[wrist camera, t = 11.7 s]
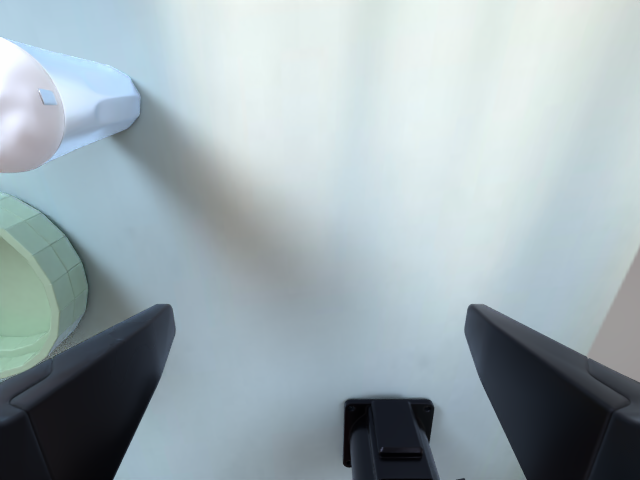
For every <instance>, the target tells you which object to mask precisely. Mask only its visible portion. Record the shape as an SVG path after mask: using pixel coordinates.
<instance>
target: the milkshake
mask: <svg viewBox="0 0 640 480" xmlns="http://www.w3.org/2000/svg"><path fill="white" fill-rule="evenodd" d="M139 115H140V94H139V92H138V90H137V89H136V87H135V85H134V83H133V82H132V80H131V78H130V77H129V76H128V75H126V74H124V73H122V72H120V71H119V70H117V69H115V68H113V67H112V66H109V65H106V64H102V63H98V62H93V61H89V60H85V59H81V58H77V57H73V56H69V55H65V54H61V53H57V52H52V51H48V50H44V49H41V48H37V47H34V46H30V45H27V44H23V43H20V42H17V41H13V40H10V39H6V38H3V37H0V173H17V172H25V171H30V170H33V169H36V168H38V167H40V166H41V165H43V164H45V163H47V162H50V161H52V160H54V159H56V158H58V157H60V156H62V155H65V154H67V153H69V152H71V151H73V150H76V149H78V148H80V147H83V146H85V145H88V144H90V143H93V142H95V141H98V140H100V139H103V138H105V137H108V136H110V135H113V134H115V133H118V132H120V131H123V130H125V129H127V128H129V127H130V126H131V124H132V123H133V122H134V121H135V120H136V119H137V118H138V116H139Z"/></svg>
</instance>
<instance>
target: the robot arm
mask: <svg viewBox="0 0 640 480" xmlns="http://www.w3.org/2000/svg"><path fill="white" fill-rule="evenodd" d="M175 331H176V328H175V321H174V315H173V309H172V307H171V305H169V304H156V305H154V306H152V307H150V308H148V309H146V310H144V311H142V312H140V313H138V314H136V315H134V316H132V317H130V318H128V319H127V320H125V321H123V322H121V323H119V324H117V325H115V326H113V327H111V328H109V329H107V330H105V331H103V332H101V333H99V334H97V335H95V336H93V337H91V338H89V339H87V340H85V341H83V342H81V343H79V344H77V345H76V346H74V347H72V348H70V349H68V350H66V351H64V352H62V353H60V354H58V355H56V356H54V357H53V358H52V359H51V358H50V359H48V360H46V361H44V362H42V363H40V364H38V365H36V366H34V367H32V368H30V369H28V370H26V371H24V372H22V373H20V374H18V375H16V376H14V377H11V378H9V379H7V380H5V381H3V382H1V383H0V480H113V479H114V477H115V475H116V472H117V470H118V468H119V466H120V464H121V462H122V460H123V458H124V455H125V453H126V451H127V449H128V447H129V445H130V443H131V440H132V438H133V436H134V434H135V432H136V430H137V428H138V425H139V423H140V421H141V419H142V417H143V415H144V413H145V411H146V408H147V406H148V404H149V402H150V400H151V398H152V396H153V393H154V391H155V389H156V387H157V385H158V383H159V380H160V378H161V375H162V372H163V370H164V367H165V364H166V360H167V357H168V354H169V351H170V348H171V345H172V342H173V339H174V336H175ZM464 331H465V336H466V339H467V342H468V345H469V348H470V351H471V354H472V357H473V360H474V364H475V367H476V370H477V372H478V375H479V378H480V380H481V383H482V385H483V387H484V389H485V391H486V393H487V396H488V398H489V400H490V402H491V404H492V406H493V408H494V411H495V413H496V415H497V417H498V419H499V421H500V423H501V425H502V428H503V430H504V432H505V434H506V436H507V438H508V440H509V443H510V445H511V447H512V449H513V451H514V453H515V455H516V458H517V460H518V462H519V464H520V466H521V468H522V470H523V472H524V475H525V477H526V479H527V480H640V383H639V382H637V381H635V380H633V379H631V378H629V377H626V376H624V375H622V374H620V373H618V372H616V371H614V370H612V369H610V368H608V367H606V366H604V365H602V364H600V363H598V362H596V361H594V360H592V359H590V358H589V359H588V358H587V357H586V356H584V355H582V354H580V353H578V352H576V351H574V350H572V349H570V348H568V347H566V346H564V345H563V344H561V343H559V342H557V341H555V340H553V339H551V338H549V337H547V336H545V335H543V334H541V333H539V332H537V331H535V330H533V329H531V328H529V327H527V326H525V325H523V324H521V323H519V322H517V321H515V320H513V319H512V318H510V317H508V316H506V315H504V314H502V313H500V312H498V311H496V310H494V309H492V308H490V307H488V306H486V305H484V304H471V305H469V307H468V309H467V315H466V321H465V328H464ZM350 406H353V407H350ZM426 406H428V407H426ZM433 414H434V405H433V403H432V401H430V400H427V399H351V400H347V401H346V402H345V404H344V434H343V465H344V466H346V467H352V477H353V480H440V478H439V475H438V472H437V469H436V465H435V462H434V459H433V455H432V452H431V449H430V446H429V442H430V435H431V428H432V421H433ZM457 480H465V478H462V479H457Z"/></svg>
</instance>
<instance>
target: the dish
mask: <svg viewBox="0 0 640 480" xmlns="http://www.w3.org/2000/svg"><path fill="white" fill-rule="evenodd" d="M87 296H88V283H87V279H86V276H85V272H84V268H83V264H82V262H81V259H80V258H79V256H78V254H77V253H76V251H75V250H74V248H73V246H72V245H71V243H70V241H69V240H68V238H67V237H65V234H64V233H63V232H62V231H61V230H60V229H58V228H57V227H56V226H55V225H54V224H53V223H52V222H51V221H50V220H49V219H48V218H47V217H46V216H45V215H44V214H42V213H41V212H40V211H38V210H36V209H35V208H33V207H31V206H30V205H28V204H26V203H24V202H23V201H21V200H19V199H17V198H16V197H14V196H11V195H9V194H5V193H2V192H0V379H2V378H6V377H9V376H13V375H16V374H20V373H22V372H24V371H26V370H28V369H30V368H32V367H34V366H35V365H37V364H38V363H40V362H41V361H42V360H44V359H45V358H46V357H47V356H48V355H49V354H50V353H51V352H52V351H53V350H54V349H55V348H56V347H57V346H58V345H59V344H60V343H61V342H63V341H64V340H65V339H66V338H67V337H68V336H69V335H70V334H71V333H72V332H73V331H74V329H75V328H76V327H77V325H78V323H79V321H80V320H81V318H82V316H83V315H84V313H85V310H86V304H87Z"/></svg>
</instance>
